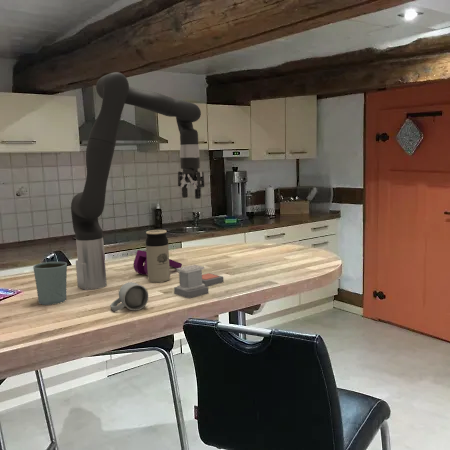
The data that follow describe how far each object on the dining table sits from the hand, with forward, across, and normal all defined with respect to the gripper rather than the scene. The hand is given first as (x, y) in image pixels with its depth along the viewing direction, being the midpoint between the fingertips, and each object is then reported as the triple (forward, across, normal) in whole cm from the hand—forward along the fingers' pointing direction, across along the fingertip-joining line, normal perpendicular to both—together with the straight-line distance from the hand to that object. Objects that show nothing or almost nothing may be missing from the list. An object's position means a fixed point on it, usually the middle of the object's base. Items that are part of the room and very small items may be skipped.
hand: (191, 198), depth 197 cm
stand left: (+28, +30, -23) cm, 47 cm away
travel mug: (+28, +7, -21) cm, 36 cm away
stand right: (+28, +23, -11) cm, 38 cm away
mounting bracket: (+28, -3, -14) cm, 32 cm away
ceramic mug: (+29, +28, -45) cm, 61 cm away
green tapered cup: (+29, +3, -59) cm, 65 cm away
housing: (+26, +30, -23) cm, 46 cm away
